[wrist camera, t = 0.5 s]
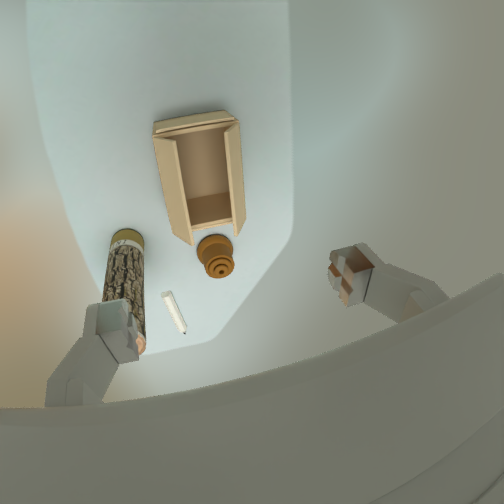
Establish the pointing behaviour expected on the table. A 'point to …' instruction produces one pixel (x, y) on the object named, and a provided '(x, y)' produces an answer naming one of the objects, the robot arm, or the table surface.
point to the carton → (202, 164)
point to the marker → (174, 311)
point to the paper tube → (127, 277)
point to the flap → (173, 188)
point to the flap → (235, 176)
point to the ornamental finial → (216, 256)
